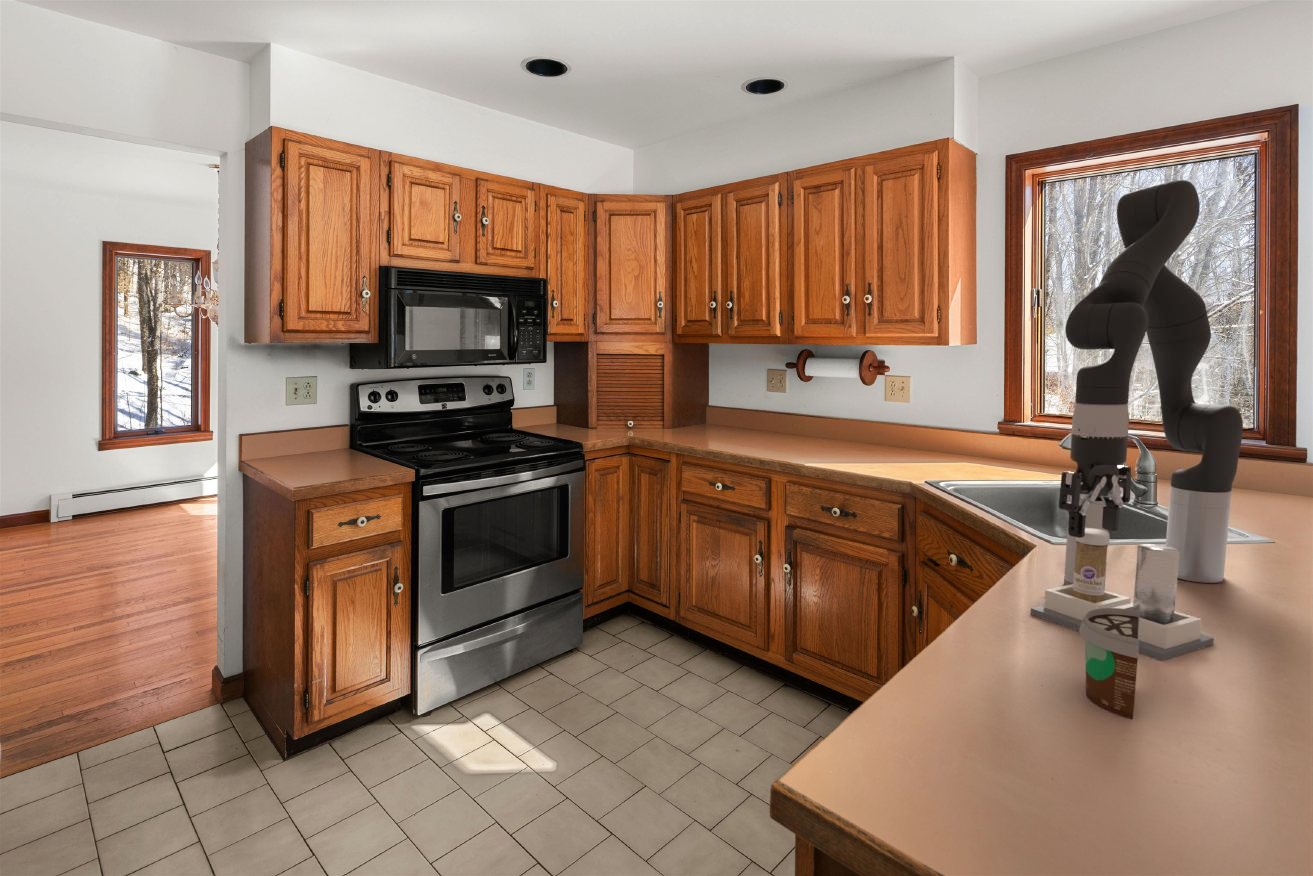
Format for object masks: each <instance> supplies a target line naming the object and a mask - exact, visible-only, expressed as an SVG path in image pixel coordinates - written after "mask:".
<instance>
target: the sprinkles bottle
mask: <svg viewBox="0 0 1313 876" xmlns="http://www.w3.org/2000/svg"><path fill="white" fill-rule="evenodd" d="M1110 537H1111V536H1110V532H1109V531H1108V532H1107V531H1104V530H1100V529H1094V528H1085V536H1084V537H1081V538H1078V537H1076V543H1077V546H1076V556H1075V557H1076V558H1075V569H1074V582H1073V597H1076V598H1079V599H1083V600H1086V601H1089V602H1092V603H1097V602H1102V601H1103V598H1104V591H1106V590H1105V589H1106V578H1107V577H1106V574H1107V556H1108V547H1109V545H1110Z"/></svg>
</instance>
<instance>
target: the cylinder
mask: <svg viewBox="0 0 1313 876" xmlns="http://www.w3.org/2000/svg"><path fill="white" fill-rule="evenodd" d="M1136 553H1137V554H1136V565H1135V566H1136V567H1135V577H1134V578H1135V580H1134V592H1133V593H1134V594H1133V602H1132V603H1133V610H1138V611H1140V618H1143V619H1146V620H1149V621H1152V622H1156V623H1159V624H1162V625H1166V624H1169V623H1173V621H1174V611H1175V608H1176V599H1177V598H1176V596H1177V584H1178V578H1177V575H1178V563H1179V550H1178V549H1175V548H1172V547H1168V546H1166V545H1163V544H1162V545H1161V544H1156V543H1155V544H1154V543H1151V544H1150V543H1141V544H1138V545H1137V552H1136Z"/></svg>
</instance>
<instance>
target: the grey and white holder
mask: <svg viewBox="0 0 1313 876" xmlns="http://www.w3.org/2000/svg"><path fill="white" fill-rule="evenodd" d="M1101 608H1122V609H1132V610H1133V602H1131V597H1128V596H1124V595H1122V594H1117V593H1114V592H1111V591H1108V590H1105V591H1104V598H1103V601H1102V602H1097V603H1092V602H1089V601H1086V600H1083V599H1079V598H1076V597H1073V584H1071V585H1063V586H1057V587H1052V588H1048V589H1045V590H1044V604H1042V605H1039V606H1035V607H1030V615H1033V616H1035V617H1037V616H1038V617H1037V618H1041V619H1043V618H1044V619H1043V620H1046V619H1047V620H1046V621H1048V622H1051V621H1052V623H1054V622H1056V623H1055V624H1057V623H1058V625H1060V626H1062V625H1064V626H1063V627H1065V626H1066V627H1065V628H1068V627H1069V628H1068V629H1071V628H1072V629H1071V630H1074V629H1075V630H1074V631H1076V630H1077V632H1079V629H1080V626H1081V623H1082V620H1083V618H1084V617H1085V616H1086V614H1087V613H1088V612H1089V611H1091V610H1095V609H1101ZM1201 626H1202V618H1199V617H1195V616H1192V615H1188V614H1187V613H1182V612H1179V611H1175V610H1174V621H1173V623H1169V624H1166V625H1162V624H1159V623H1156V622H1152V621H1149V620H1146V619H1143V618H1140V617H1139V629H1138V639H1139V651H1138V654H1140V655H1144V656H1146V657H1149V658H1153V659H1155V660H1157V661H1161V662H1162V661H1166V660H1168V659H1171V658H1174V657H1178V656H1181V655H1184V654H1187V653H1191V652H1194V651H1197V650H1200V649H1199V648H1201V649H1203V648H1207V647H1210V646H1213V645H1214V644H1215V643H1214V642H1215V638H1214V637H1213V636H1209V635H1205V634H1204V633H1203V634H1202V633H1201ZM1209 645H1210V646H1209ZM1206 646H1207V647H1206Z"/></svg>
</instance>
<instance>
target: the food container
mask: <svg viewBox="0 0 1313 876" xmlns="http://www.w3.org/2000/svg"><path fill="white" fill-rule="evenodd" d="M1139 617H1140V611H1138V610H1132V609H1122V608H1101V609H1095V610H1091V611H1089V612H1088V613H1087V614H1086V616H1085V617H1084V618H1083V620H1082V623H1081V626H1080V629H1079V631H1078V633H1079V634H1080V635H1081V636H1082V637H1083V639H1084V640H1085V641H1084V642H1085V648H1084V651H1085V653H1084V655H1085V696H1086V698H1087V699H1088V700H1089V701H1090V702H1091V703H1093V704H1094V706H1097V707H1099V708H1100V709H1103V710H1105V711H1106V712H1109V713H1112V714H1114V715H1117V716H1119V717H1124V718H1127V719H1131V720H1134V708H1135V697H1136V696H1135V694H1136V685H1137V684H1136V683H1137V671H1138V662H1139V661H1138V659H1139V653H1138V651H1139V639H1138V629H1139Z"/></svg>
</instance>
